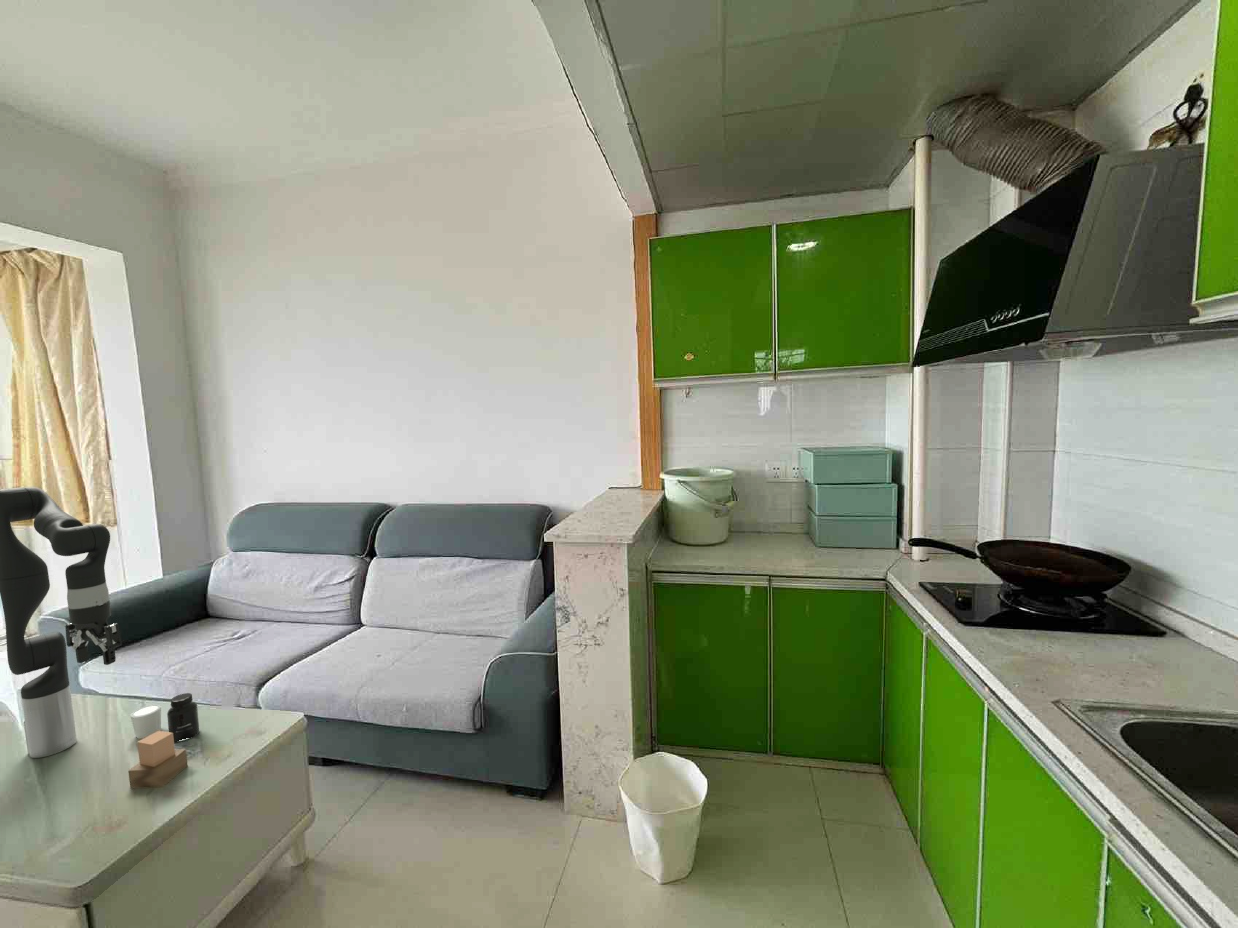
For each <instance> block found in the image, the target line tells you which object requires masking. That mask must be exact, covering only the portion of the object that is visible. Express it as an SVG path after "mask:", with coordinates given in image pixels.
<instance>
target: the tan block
mask: <svg viewBox="0 0 1238 928" xmlns="http://www.w3.org/2000/svg"><path fill="white" fill-rule="evenodd" d="M136 743H137V744H136V745H137V752H138V760H139V762H140V764H142V765H147V766H152V767H155V766H157V765H158V764H160V763H162V762H163V761H165V760H167V759H169V758H170V757H172V756H174V755H175V750H176V748H175V742H174V738H173V733H170V732H169V731H163V730H160V731H157V732H155V733H153V734H151V735H149V736H148V737H146V738H141V739H140V740H138V741H136Z"/></svg>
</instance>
